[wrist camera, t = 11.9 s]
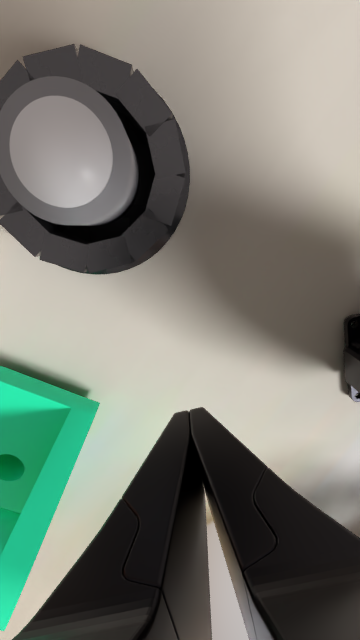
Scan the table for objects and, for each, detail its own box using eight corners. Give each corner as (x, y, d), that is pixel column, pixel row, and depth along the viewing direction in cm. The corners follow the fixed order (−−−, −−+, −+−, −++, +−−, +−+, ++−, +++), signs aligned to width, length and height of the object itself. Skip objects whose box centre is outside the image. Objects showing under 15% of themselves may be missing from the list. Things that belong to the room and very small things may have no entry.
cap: (126, 109, 16) (107, 58, 11) (150, 214, 18) (144, 209, 13) (28, 132, 17) (-32, 92, 12) (60, 234, 18) (20, 237, 13)
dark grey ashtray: (165, 41, 16) (164, 7, 14) (205, 251, 19) (211, 255, 17) (-37, 90, 16) (-74, 66, 14) (35, 290, 20) (16, 299, 17)
